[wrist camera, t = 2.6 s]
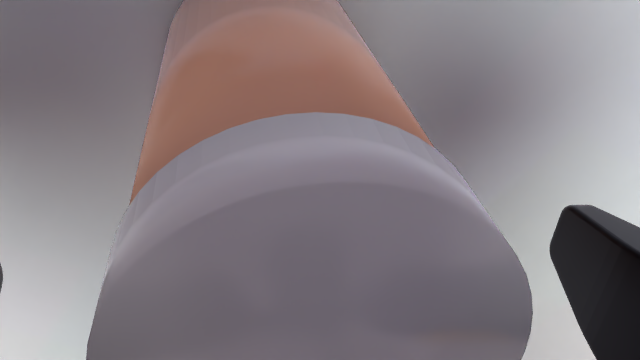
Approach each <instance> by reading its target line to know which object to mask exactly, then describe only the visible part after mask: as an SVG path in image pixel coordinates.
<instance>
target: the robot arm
mask: <svg viewBox="0 0 640 360" xmlns="http://www.w3.org/2000/svg"><path fill="white" fill-rule="evenodd" d="M550 256H551V259H552V262H553V264H554V267H555V269H556V271H557V274H558V276H559V279H560V281H561V283H562V286H563V288H564V291H565V293H566V295H567V298H568V300H569V302H570V305H571V307H572V310H573V312H574V314H575V317H576V319H577V322H578V324H579V326H580V328H581V330H582V333H583V335H584V337H585V339H586V341H587V343H588V344H589V346H590V348H591V350H592V352H593V354H594V356H595V357H596V359H597V360H640V227H637V226H635V225H633V224H631V223H629V222H627V221H624V220H622V219H620V218H618V217H616V216H614V215H611V214H609V213H607V212H605V211H603V210H601V209H598V208H596V207H594V206H592V205H570V206H567V207H565V208H564V209H563V211H562V212H561V215H560V218H559V220H558V223H557V226H556V229H555V232H554V234H553V237H552V240H551V243H550ZM2 282H3V272H2V267H1V264H0V292H1V288H2Z"/></svg>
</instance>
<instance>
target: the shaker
mask: <svg viewBox="0 0 640 360" xmlns="http://www.w3.org/2000/svg"><path fill="white" fill-rule="evenodd" d="M532 314H533V311H532V296H531V291H530V287H529V283H528V279H527V276H526V273H525V271H524V269H523V267H522V265H521V263H520V261H519V259H518V257H517V255H516V254H515V252H514V251H513V249H512V248H511V246H510V245H509V244H508V242H507V241H506V239H505V238H504V236H503V235H502V233H501V232H500V230H499V229H498V227H497V226H496V225H495V223H494V222H493V220H492V219H491V217H490V216H489V214H488V213H487V211H486V210H485V208H484V207H483V205H482V204H481V203H480V201H479V200H478V198H477V197H476V195H475V194H474V192H473V191H472V189H471V188H470V186H469V185H468V184H467V182H466V181H465V179H464V178H463V177H462V175H461V174H460V173H459V171H458V170H457V169H456V168H455V166H454V165H453V164H452V163H451V162H450V161H449V160H448V159H447V158H445V157H444V156H443V155H442V154H441V153H440V152H439V151H438V150H437V149H435V148H434V146H433V145H432V143H431V141H430V140H429V138H428V137H427V135H426V134H425V132H424V131H423V129H422V128H421V126H420V125H419V123H418V122H417V120H416V119H415V117H414V116H413V114H412V113H411V111H410V110H409V108H408V107H407V105H406V103H405V102H404V100H403V99H402V97H401V96H400V94H399V93H398V91H397V90H396V88H395V87H394V85H393V84H392V82H391V81H390V79H389V78H388V76H387V75H386V73H385V72H384V70H383V69H382V67H381V65H380V64H379V62H378V61H377V59H376V58H375V56H374V55H373V53H372V52H371V50H370V49H369V47H368V46H367V44H366V43H365V41H364V40H363V38H362V37H361V35H360V34H359V32H358V31H357V29H356V27H355V26H354V24H353V23H352V21H351V20H350V18H349V17H348V15H347V14H346V12H345V11H344V9H343V8H342V6H341V5H340V3H339V2H338V1H337V0H184V1H183V2H182V4H181V5H180V7H179V9H178V10H177V12H176V14H175V16H174V18H173V21H172V23H171V26H170V29H169V33H168V36H167V41H166V45H165V49H164V54H163V58H162V63H161V67H160V72H159V76H158V80H157V85H156V89H155V94H154V98H153V102H152V107H151V111H150V116H149V120H148V125H147V129H146V133H145V138H144V142H143V147H142V151H141V155H140V160H139V164H138V169H137V173H136V178H135V182H134V186H133V191H132V195H131V200H130V204H129V207H128V208H127V210H126V211H125V213H124V215H123V218H122V220H121V222H120V224H119V226H118V228H117V230H116V233H115V236H114V240H113V244H112V247H111V251H110V254H109V259H108V263H107V267H106V271H105V275H104V279H103V283H102V287H101V291H100V295H99V299H98V303H97V307H96V311H95V315H94V319H93V324H92V328H91V332H90V336H89V340H88V344H87V356H86V360H521V358H522V356H523V354H524V352H525V349H526V345H527V342H528V339H529V335H530V331H531V323H532Z"/></svg>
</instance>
